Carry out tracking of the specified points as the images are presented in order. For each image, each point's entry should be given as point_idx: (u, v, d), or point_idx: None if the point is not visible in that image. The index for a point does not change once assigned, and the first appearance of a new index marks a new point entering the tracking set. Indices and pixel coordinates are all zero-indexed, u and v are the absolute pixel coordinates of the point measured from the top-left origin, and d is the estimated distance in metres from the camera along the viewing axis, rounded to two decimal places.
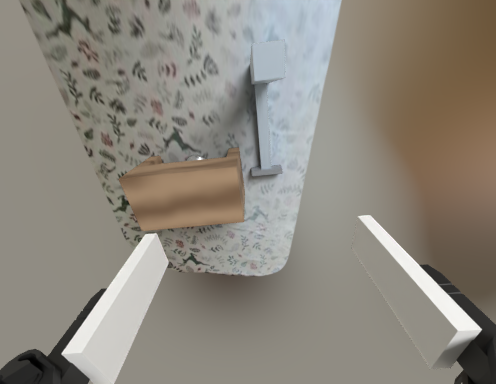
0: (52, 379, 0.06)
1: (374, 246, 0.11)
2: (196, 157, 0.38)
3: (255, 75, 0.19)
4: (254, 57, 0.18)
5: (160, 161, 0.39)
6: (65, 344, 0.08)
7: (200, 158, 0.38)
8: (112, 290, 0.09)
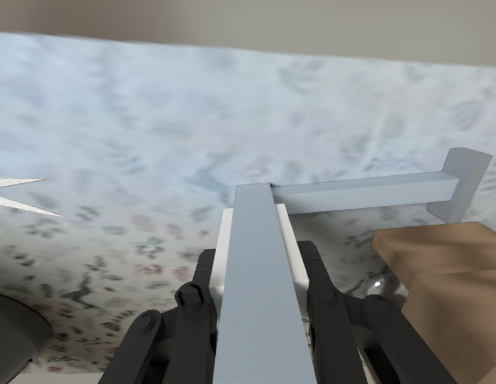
0: (207, 312, 0.08)
1: None
2: (372, 292, 0.23)
3: None
4: None
5: None
6: None
7: (376, 287, 0.22)
8: (222, 247, 0.11)
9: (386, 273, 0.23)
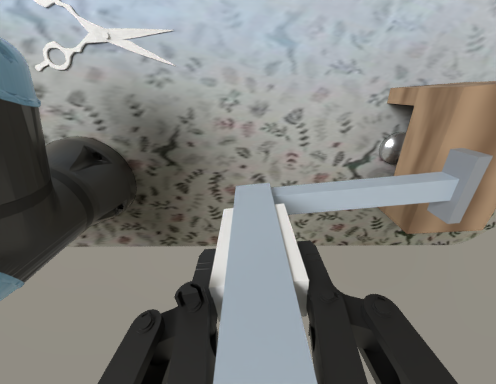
0: (207, 312, 0.08)
1: None
2: (386, 147, 0.31)
3: None
4: None
5: None
6: None
7: (389, 142, 0.31)
8: (222, 247, 0.11)
9: (396, 133, 0.31)
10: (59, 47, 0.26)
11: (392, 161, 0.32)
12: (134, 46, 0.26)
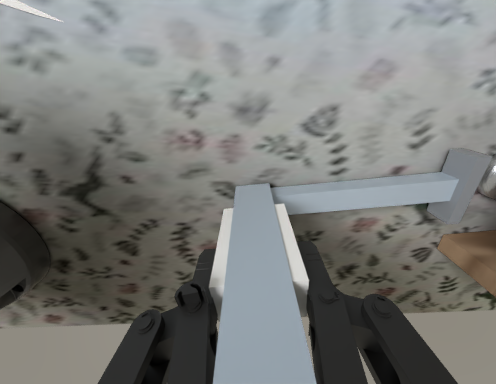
0: (207, 312, 0.08)
1: None
2: None
3: None
4: None
5: (458, 237, 0.20)
6: None
7: None
8: (222, 247, 0.11)
9: None
10: None
11: None
12: None
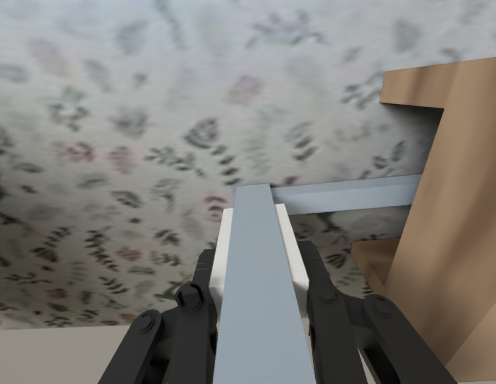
0: (207, 312, 0.08)
1: None
2: None
3: None
4: None
5: (364, 244, 0.21)
6: None
7: None
8: (222, 247, 0.11)
9: None
10: None
11: None
12: None
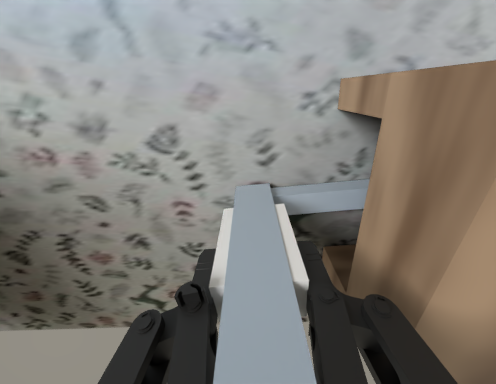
0: (207, 312, 0.08)
1: None
2: None
3: None
4: None
5: (334, 250, 0.21)
6: None
7: None
8: (222, 247, 0.11)
9: None
10: None
11: None
12: None
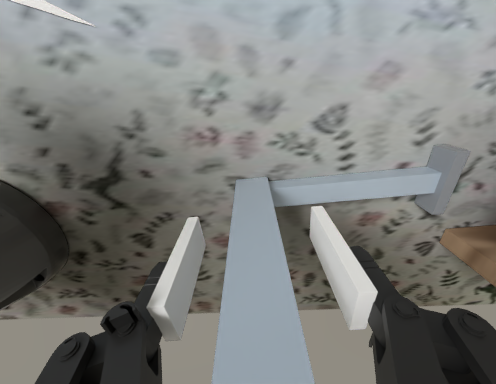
0: (141, 331, 0.07)
1: (320, 232, 0.12)
2: None
3: None
4: None
5: (460, 231, 0.21)
6: (141, 303, 0.09)
7: None
8: (173, 261, 0.10)
9: None
10: None
11: None
12: None
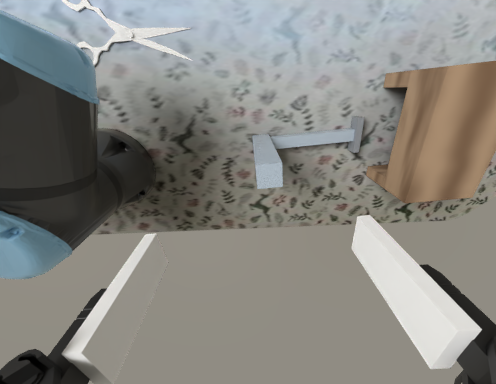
0: (52, 379, 0.06)
1: (373, 246, 0.11)
2: None
3: (278, 186, 0.23)
4: (266, 186, 0.23)
5: (374, 166, 0.38)
6: (65, 344, 0.08)
7: None
8: (112, 290, 0.09)
9: None
10: (88, 46, 0.29)
11: None
12: (156, 43, 0.30)
